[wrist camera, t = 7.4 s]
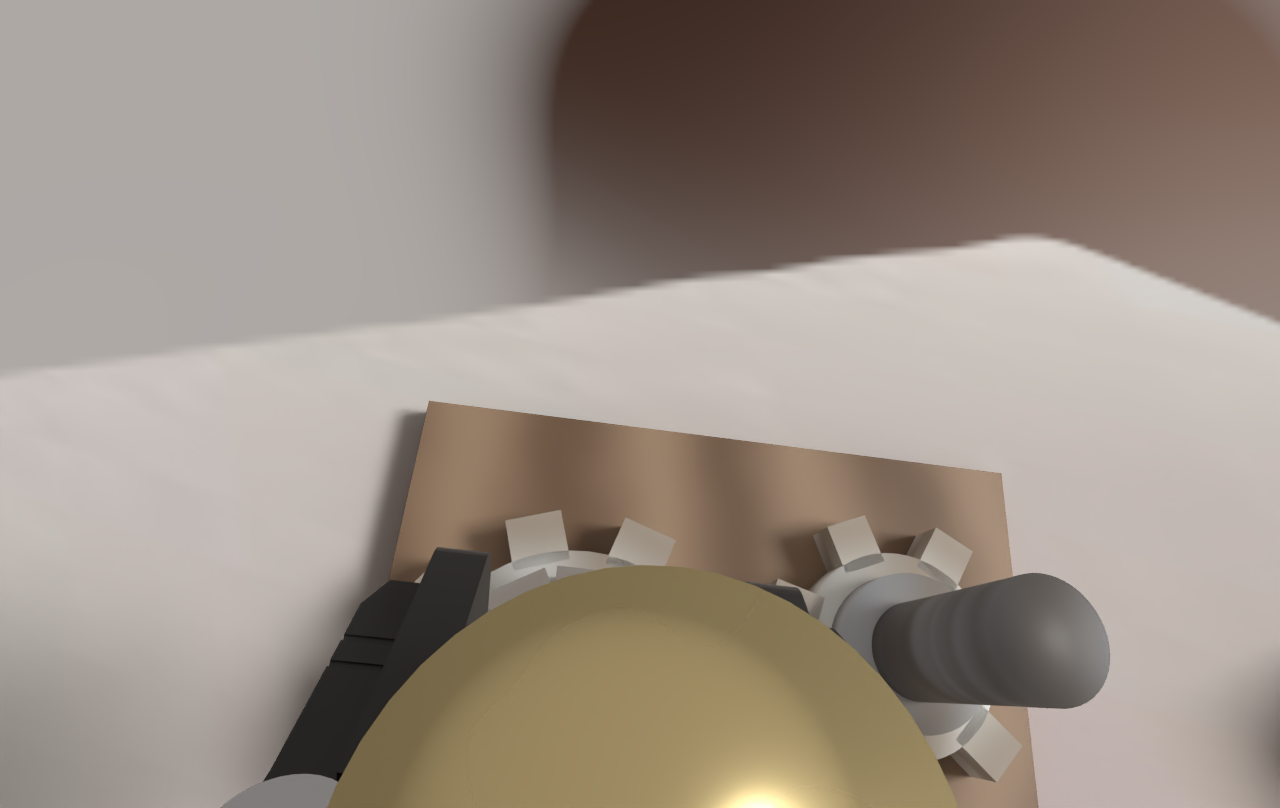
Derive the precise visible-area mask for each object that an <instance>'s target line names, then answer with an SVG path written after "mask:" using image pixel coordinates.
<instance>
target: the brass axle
mask: <svg viewBox="0 0 1280 808" xmlns="http://www.w3.org/2000/svg"><path fill="white" fill-rule="evenodd" d="M327 808H958V806H957V803H956V800H955V797H954V794H953V792H952V790H951V788H950V786H949V784H948V782H947V780H946V778H945V775H944V773H943V771H942V769H941V767H940V765H939V763H938V761H937V758H936V756H935V754H934V752H933V751H932V749H931V747H930V746H929V744H928V742H927V741H926V739H925V737H924V736H923V734H922V732H921V731H920V729H919V728H918V726H917V724H916V723H915V721H914V719H913V718H912V716H911V714H910V713H909V712H908V710H907V709H906V708H905V706H904V705H903V704H902V703H901V701H900V700H899V699H898V697H897V696H896V695H895V693H894V692H893V691H892V690H891V688H890V687H889V686H888V684H887V683H886V682H885V680H884V679H883V678H882V677H881V676H880V675H879V674H878V673H877V672H876V671H875V670H874V669H873V668H872V667H871V666H870V665H869V664H868V663H867V662H866V661H865V659H864V658H863V657H862V656H861V655H860V654H859V653H858V652H857V651H856V650H855V649H854V648H853V647H851V646H850V645H849V644H848V643H847V642H845V641H844V640H843V639H842V638H840V637H839V636H838V635H837V634H836V633H834V632H833V631H832V630H831V629H829V628H828V627H827V626H826V625H824V624H823V623H822V622H820V621H819V620H817V619H816V618H814V617H812V616H811V615H809V614H808V613H806V612H805V611H803V610H801V609H800V608H798V607H797V606H795V605H793V604H792V603H790V602H789V601H787V600H784V599H782V598H780V597H778V596H776V595H774V594H772V593H770V592H767V591H765V590H763V589H761V588H759V587H757V586H755V585H752V584H749V583H746V582H743V581H739V580H736V579H733V578H730V577H727V576H724V575H721V574H717V573H712V572H707V571H701V570H695V569H690V568H684V567H676V566H653V565H636V566H625V567H614V568H603V569H599V570H594V571H590V572H585V573H581V574H577V575H572V576H568V577H564V578H561V579H559V580H556V581H553V582H550V583H548V584H545V585H542V586H540V587H537V588H534V589H531V590H529V591H526V592H524V593H523V594H521V595H519V596H517V597H515V598H513V599H511V600H509V601H507V602H505V603H503V604H501V605H500V606H498V607H496V608H494V609H492V610H490V611H489V612H487V613H486V614H484V615H483V616H481V617H480V618H479V619H477V620H476V621H474V622H473V623H471V624H470V625H468V626H467V627H466V628H464V629H463V630H461V631H460V632H458V633H457V634H455V635H454V636H453V637H452V638H451V639H450V640H448V641H447V642H446V643H445V644H444V645H443V646H442V647H441V648H439V649H438V650H437V651H436V652H435V653H434V654H433V655H432V656H430V657H429V658H428V659H427V660H426V661H425V662H424V663H423V664H421V665H420V667H419V668H418V669H417V670H416V671H415V672H414V673H413V674H412V676H411V677H410V678H409V679H408V680H407V681H406V682H405V683H404V685H403V686H402V687H401V688H400V689H399V690H398V691H397V692H396V693H395V695H394V696H393V697H392V698H391V699H390V700H389V702H388V703H387V704H386V706H385V707H384V709H383V710H382V712H381V713H380V714H379V716H378V717H377V719H376V720H375V721H374V723H373V724H372V726H371V727H370V729H369V730H368V731H367V733H366V734H365V736H364V737H363V738H362V740H361V741H360V743H359V745H358V747H357V749H356V750H355V752H354V754H353V756H352V758H351V760H350V761H349V763H348V765H347V767H346V769H345V770H344V772H343V774H342V776H341V778H340V780H339V781H338V783H337V785H336V787H335V789H334V792H333V794H332V797H331V799H330V801H329V804H328V806H327Z"/></svg>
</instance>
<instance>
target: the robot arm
mask: <svg viewBox="0 0 1280 808" xmlns="http://www.w3.org/2000/svg"><path fill="white" fill-rule="evenodd" d="M491 562H492V557H491V553H489V552H480V551H471V550H462V549H453V548H444V547H437V548H436V549H435V551H434V553H433V555H432V557H431V560H430V562H429V564H428V566H427V569H426V571H425V573H424V575H423V578H422V580H421V582H420V583H415V582H405V581H396V580H390V581H389V582H387V583H386V584H385V585H384V586H382V587H381V588H380V589H379V590H377V591H376V592H375V593H374V594H372V595H371V596H370V597H369V598H367V599H366V600H365V601H364V602H362V603H361V604H360V606H359V608H358V610H357V612H356V614H355V615H354V617H353V619H352V621H351V623H350V625H349V627H348V628H347V630H346V632H345V634H344V639H343V640H341V641H340V643H339V645H338V647H337V649H336V650H335V652H334V654H333V656H332V658H331V660H330V665H329V667H328V666H327V667H326V669H325V671H324V673H323V674H322V676H321V678H320V680H319V682H318V684H317V685H316V687H315V689H314V691H313V693H312V695H311V696H310V698H309V700H308V702H307V704H306V706H305V707H304V709H303V711H302V713H301V715H300V717H299V719H298V720H297V722H296V724H295V726H294V728H293V730H292V731H291V733H290V735H289V737H288V739H287V741H286V742H285V744H284V746H283V748H282V750H281V752H280V753H279V755H278V757H277V759H276V761H275V763H274V765H273V766H272V768H271V770H270V772H269V773H268V775H267V776H266V778H265V779H264V781H263V782H262V783H259V784H257V785H255V786H252V787H250V788H249V789H247V790H245V791H243V792H242V793H240V794H238V795H237V796H235V797H234V798H232V799H231V800H230V801H228V802H227V803H226V804H224V805H223V806H222V807H221V808H327V806H328V804H329V801H330V799H331V797H332V794H333V792H334V789H335V787H336V785H337V783H338V781H339V780H340V778H341V776H342V774H343V772H344V770H345V769H346V767H347V765H348V763H349V761H350V760H351V758H352V756H353V754H354V752H355V750H356V749H357V747H358V745H359V743H360V741H361V740H362V738H363V737H364V736H365V734H366V733H367V731H368V730H369V729H370V727H371V726H372V724H373V723H374V721H375V720H376V719H377V717H378V716H379V714H380V713H381V712H382V710H383V709H384V707H385V706H386V704H387V703H388V702H389V700H390V699H391V698H392V697H393V696H394V695H395V693H396V692H397V691H398V690H399V689H400V688H401V687H402V686H403V685H404V683H405V682H406V681H407V680H408V679H409V678H410V677H411V676H412V674H413V673H414V672H415V671H416V670H417V669H418V668H419V667H420V665H421V664H423V663H424V662H425V661H426V660H427V659H428V658H429V657H430V656H432V655H433V654H434V653H435V652H436V651H437V650H438V649H439V648H441V647H442V646H443V645H444V644H445V643H446V642H447V641H448V640H450V639H451V638H452V637H453V636H454V635H455V634H457V633H458V632H460V631H461V630H463V629H464V628H466V627H467V626H468V625H470V624H471V623H473V622H474V621H476V620H477V619H479V618H480V617H481V616H483V615H484V614H486V613H487V612H488V603H489V590H490V577H491ZM746 583H749V584H752V585H755V586H757V587H759V588H761V589H763V590H765V591H767V592H770V593H772V594H774V595H776V596H778V597H780V598H782V599H784V600H787V601H789V602H790V603H792V604H793V605H795V606H797V607H798V608H800V609H801V610H803V611H805V612H806V613H808V614H809V612H808V609H807V606H806V603H805V601H804V598H803V595H802V593H801V591H800V589H799V588H797V587H789V586H780V585H771V584H762V583H753V582H746ZM809 615H810V614H809ZM829 629H831V630H832V631H833V632H834V633H836V634H837V635H838V636H839V637H840V638H842V637H841V636H840V635H839V633H838V632H837V631H836V630H835V629H834V628H829ZM842 639H843V638H842ZM843 640H844V639H843ZM844 641H845V640H844ZM845 642H846V641H845Z"/></svg>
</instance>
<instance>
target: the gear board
mask: <svg viewBox="0 0 1280 808" xmlns="http://www.w3.org/2000/svg"><path fill="white" fill-rule="evenodd" d="M437 547H444V548H453V549H462V550H471V551H480V552H489V553H491V557H492V562H491V577H490V590H489V603H488V612H489V611H490V610H492V609H494V608H496V607H498V606H500V605H501V604H503V603H505V602H507V601H509V600H511V599H513V598H515V597H517V596H519V595H521V594H523V593H524V592H526V591H529V590H531V589H534V588H537V587H540V586H542V585H545V584H548V583H550V582H553V581H556V580H559V579H561V578H564V577H568V576H572V575H577V574H581V573H585V572H590V571H594V570H599V569H603V568H614V567H625V566H636V565H653V566H676V567H684V568H690V569H695V570H701V571H707V572H712V573H717V574H721V575H724V576H727V577H730V578H733V579H736V580H739V581H743V582H753V583H762V584H771V585H780V586H789V587H797V588H799V589H800V591H801V593H802V595H803V598H804V601H805V603H806V606H807V609H808V612H809V614H810V615H811V616H812V617H814V618H816V619H817V620H819V621H820V622H822V623H823V624H824V625H826V626H827V627H828V628H834V629H835V630H836V631H837V632H838V633H839V635H840V636H841V637H842V638H843V639H844V640H845V641H846V642H847V643H848V644H849V645H850V646H851V647H853V648H854V649H855V650H856V651H857V652H858V653H859V654H860V655H861V656H862V657H863V658H864V659H865V661H866V662H867V663H868V664H869V665H870V666H871V667H872V668H873V669H874V670H875V671H876V672H877V673H878V674H879V675H880V676H881V677H882V678H883V679H884V680H885V682H886V683H887V684H888V686H889V687H890V688H891V690H892V691H893V692H894V693H895V695H896V696H897V697H898V699H899V700H900V701H901V703H902V704H903V705H904V706H905V708H906V709H907V710H908V712H909V713H910V714H911V716H912V718H913V719H914V721H915V723H916V724H917V726H918V728H919V729H920V731H921V732H922V734H923V736H924V737H925V739H926V741H927V742H928V744H929V746H930V747H931V749H932V751H933V752H934V754H935V756H936V758H937V761H938V763H939V765H940V767H941V769H942V771H943V773H944V775H945V778H946V780H947V782H948V784H949V786H950V788H951V790H952V792H953V794H954V797H955V800H956V803H957V806H958V808H1038V799H1037V790H1036V781H1035V772H1034V763H1033V754H1032V745H1031V736H1030V727H1029V718H1028V709H1027V707H1038V708H1061V709H1067V708H1074V707H1077V706H1080V705H1083V704H1084V703H1086V702H1088V701H1089V700H1091V699H1092V698H1094V696H1095V695H1096V694H1097V693H1098V692H1099V691H1100V689H1101V688H1102V686H1103V685H1104V682H1105V680H1106V678H1107V674H1108V671H1109V665H1110V649H1109V642H1108V638H1107V634H1106V631H1105V628H1104V626H1103V624H1102V621H1101V619H1100V617H1099V616H1098V614H1097V612H1096V611H1095V609H1094V608H1093V606H1092V605H1091V604H1090V602H1089V601H1088V600H1087V599H1086V598H1085V597H1084V596H1083V595H1082V594H1081V593H1080V592H1079V591H1078V590H1076V589H1075V588H1074V587H1072V586H1071V585H1070V584H1068V583H1066V582H1065V581H1063V580H1061V579H1058V578H1056V577H1053V576H1050V575H1046V574H1041V573H1029V574H1023V575H1018V576H1014V577H1013V575H1012V566H1011V557H1010V548H1009V539H1008V530H1007V521H1006V512H1005V503H1004V494H1003V485H1002V476H1001V473H994V472H986V471H978V470H970V469H962V468H954V467H946V466H939V465H931V464H923V463H915V462H907V461H899V460H891V459H883V458H875V457H868V456H860V455H852V454H844V453H836V452H828V451H820V450H812V449H804V448H796V447H789V446H781V445H773V444H765V443H757V442H749V441H741V440H733V439H725V438H717V437H710V436H702V435H694V434H686V433H678V432H670V431H662V430H654V429H646V428H638V427H631V426H623V425H615V424H607V423H599V422H591V421H583V420H575V419H567V418H559V417H552V416H544V415H536V414H528V413H520V412H512V411H504V410H496V409H488V408H481V407H473V406H465V405H457V404H449V403H441V402H433V401H429V403H428V408H427V412H426V417H425V421H424V426H423V430H422V434H421V439H420V443H419V448H418V452H417V457H416V461H415V466H414V470H413V474H412V479H411V483H410V488H409V492H408V497H407V501H406V506H405V510H404V514H403V519H402V523H401V528H400V532H399V537H398V541H397V546H396V550H395V554H394V559H393V563H392V568H391V572H390V577H389V581H390V580H396V581H405V582H415V583H420V582H421V580H422V578H423V575H424V573H425V571H426V569H427V566H428V564H429V562H430V560H431V557H432V555H433V553H434V551H435V549H436V548H437ZM389 581H388V582H389Z"/></svg>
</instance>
